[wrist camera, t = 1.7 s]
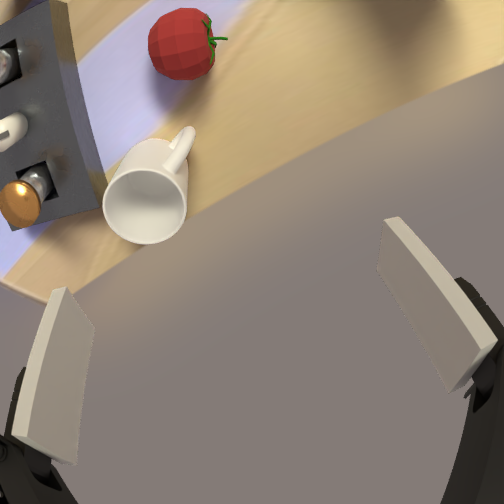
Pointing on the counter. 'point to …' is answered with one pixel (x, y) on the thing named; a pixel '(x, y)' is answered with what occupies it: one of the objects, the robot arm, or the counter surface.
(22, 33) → the console
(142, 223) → the mug
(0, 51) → the knob
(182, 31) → the tomato
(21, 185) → the knob
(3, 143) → the dial
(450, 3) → the counter surface
